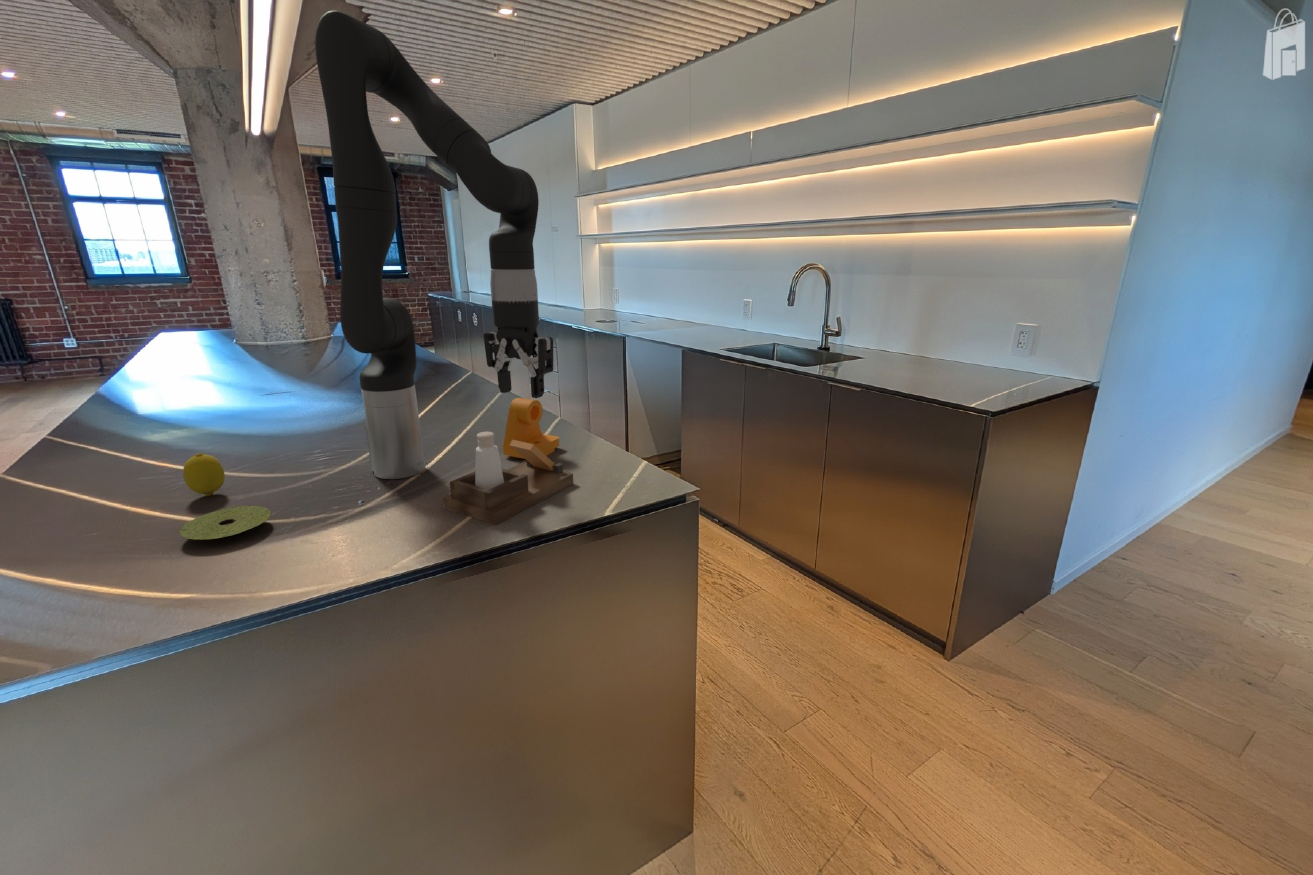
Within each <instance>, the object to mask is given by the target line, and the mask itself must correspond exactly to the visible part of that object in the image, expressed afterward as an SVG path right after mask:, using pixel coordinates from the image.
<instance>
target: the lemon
mask: <svg viewBox="0 0 1313 875" xmlns="http://www.w3.org/2000/svg"><path fill="white" fill-rule="evenodd" d="M182 471H183V474H182V475H183V480H184V482H185V485H186V486H187V487H188V489H189V490H191V491H192V492H193V493H196V494H199V495H204V496H206V497H210V496H212V495H213V494H214V493H215V492H217V491H218V490H220V489H221V488H222V487H223V485H224V482H225V470H224V467H223V466H222V463H221V462H220V461H219V460H218V459H217V458H216V457H214V456H212V455H209V454H203V453H202V452H198V453H196V454H195V455H193V456H191V457H190V458H189V459H187V461H186V462H185V464H184V465H183V470H182Z"/></svg>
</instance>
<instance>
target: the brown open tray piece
mask: <svg viewBox="0 0 1313 875" xmlns="http://www.w3.org/2000/svg"><path fill="white" fill-rule="evenodd" d="M475 472H476V470H475V471H473V472H470V473H468V474H465V475H463V476H460V477H458V478H455V479H453V480H451V481H449V487H450V494H447V495H446V496H443V497H442V500H443V508H444V509H445V510H449V511H451V512H456V513H458V514H461V515H463V516H464V515H465V516H467V517H470V518H473V519H476V520H479V521H483V522H484V523H488V524H491V525H494V526H496V525H499V524H500V523H502V522H504V521H506V520H507V519H510V518H511V517H513V516H515V515H517V514H519V513H521V512H522V511H524V510H526V509H529V508H531V507H532V506H534V505H536V504H538V503H539V502H541V501H543V500H546V499H547V498H549V497H551V496H553V495H555V494H556V493H558V492H560V491H562V490H565V489H566V488H567V487H569V486H571V485H573V484H574V474H573V473H572V472H568V471H564V463H560V462H559V463H556V465H554V471H550V470H546V469H542V468H538V467H534V466H533V465H532V464H531V463H530V462H529V461H527V460H526V461H524V462H521V463H519V464H516V465H514V466H512V467H509V468H507V469H505V468H502V473H503V478H504V483H503V484H500V485H498V486H496V487H494V488H492V489H489V490H488V489H484V488H481V487H478V486H475Z"/></svg>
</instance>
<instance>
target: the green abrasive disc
mask: <svg viewBox="0 0 1313 875" xmlns="http://www.w3.org/2000/svg"><path fill="white" fill-rule="evenodd" d="M271 513H272V512H271V511H270V509H269V508H267V507H264V506H258V505H242V506H240V505H239V506H234V507H229V508H227V507H226V508H225V509H218V510H216V511H212V512H209V513H205V514H204V515H199V516H198V517H195V518H193V519H191V520H189V521H188V522H186V523H185V524H184V525H183V526H182V527H181V528H180V530H179V535H180V536H181V537H183V538H185V539H191V540H194V541H195V540H200V541H201V540H213V539H220V538H225V537H230V536H231V537H232V536H234V535H237V534H241V533H242V532H246V531H248V530H250V529H253V528H255V527H258V526H259V525H262V524H263V523H264V522H265V521H266V520H268V519H269V518H270V515H272V514H271Z"/></svg>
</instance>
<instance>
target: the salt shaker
mask: <svg viewBox="0 0 1313 875" xmlns="http://www.w3.org/2000/svg"><path fill="white" fill-rule="evenodd" d="M476 437H477V438H476V439H477V445H478V446H477V447H476V448H475V471H476V472H475V471H474V472H475V486H478V487H481V488H484V489H488V490H489V489H492V488H494V487H496V486H498V485H500V484H503V483H504V478H503V473H502V469H503V468H502V463H501V457H500V452H499V448H498V446H497V445H495V433H494V432H493V431H481V432H478V433H477V434H476Z"/></svg>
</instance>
